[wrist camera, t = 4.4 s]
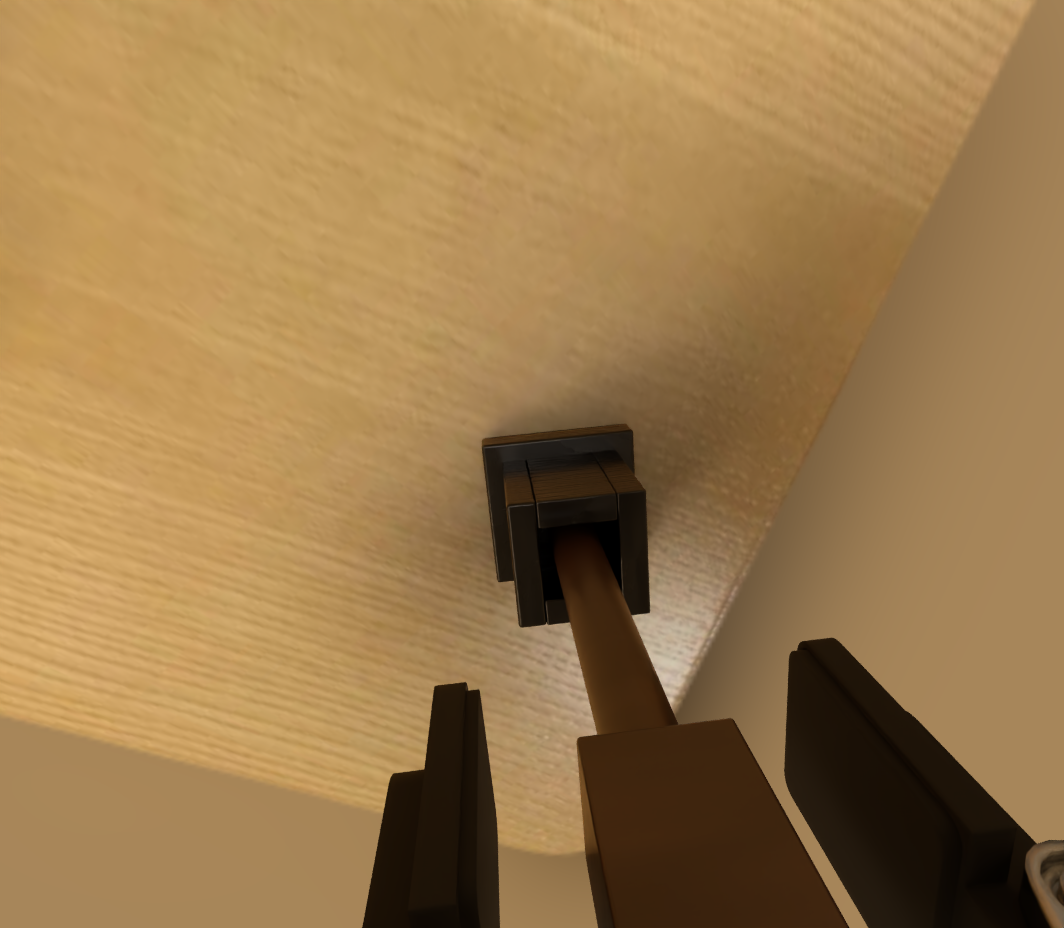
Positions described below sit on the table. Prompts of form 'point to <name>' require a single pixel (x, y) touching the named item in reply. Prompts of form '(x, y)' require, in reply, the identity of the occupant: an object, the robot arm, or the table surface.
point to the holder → (565, 512)
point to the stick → (671, 787)
